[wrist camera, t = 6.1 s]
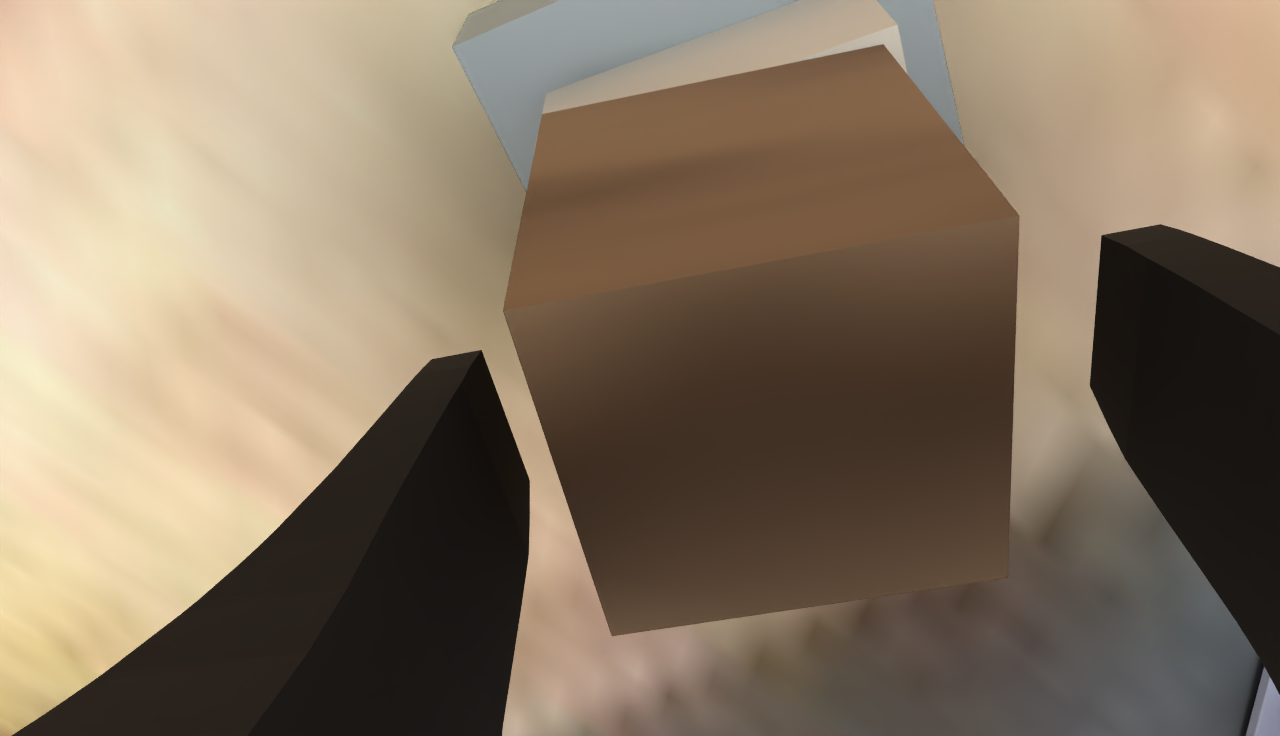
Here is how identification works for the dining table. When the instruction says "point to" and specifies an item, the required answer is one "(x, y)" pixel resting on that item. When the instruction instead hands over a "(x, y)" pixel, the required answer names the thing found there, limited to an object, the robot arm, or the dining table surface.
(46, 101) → the dining table surface
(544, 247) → the walnut block
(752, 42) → the cream block
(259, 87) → the dining table surface
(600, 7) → the tower base slab
